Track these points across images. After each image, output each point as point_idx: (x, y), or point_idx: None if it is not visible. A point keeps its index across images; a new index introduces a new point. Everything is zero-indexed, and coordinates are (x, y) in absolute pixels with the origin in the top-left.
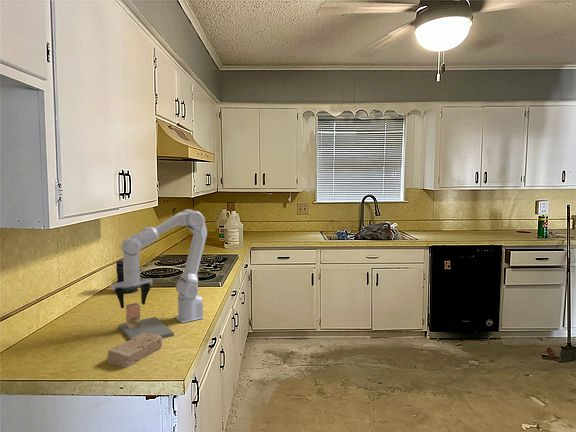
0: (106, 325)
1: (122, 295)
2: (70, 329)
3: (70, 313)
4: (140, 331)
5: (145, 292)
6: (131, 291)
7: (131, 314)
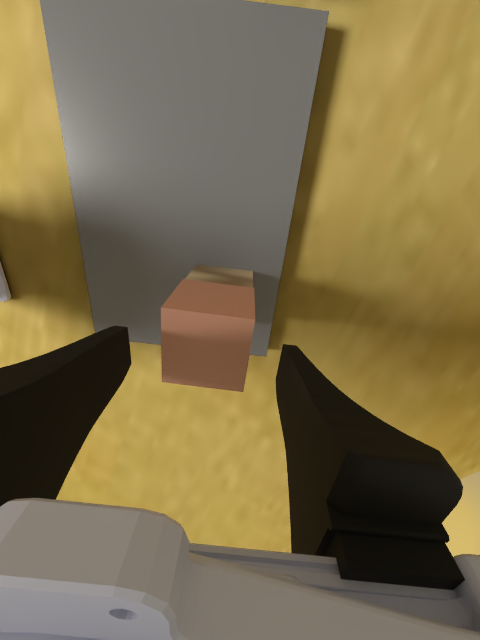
0: None
1: (338, 416)
2: (405, 430)
3: None
4: (223, 183)
5: (18, 377)
6: None
7: (237, 294)
